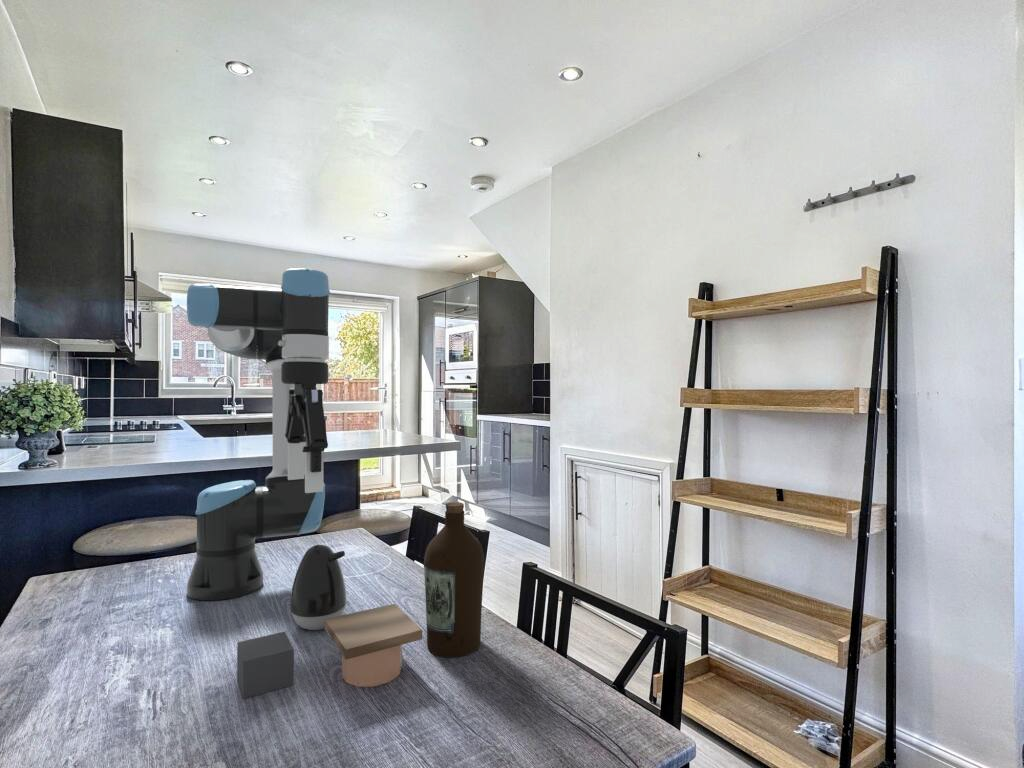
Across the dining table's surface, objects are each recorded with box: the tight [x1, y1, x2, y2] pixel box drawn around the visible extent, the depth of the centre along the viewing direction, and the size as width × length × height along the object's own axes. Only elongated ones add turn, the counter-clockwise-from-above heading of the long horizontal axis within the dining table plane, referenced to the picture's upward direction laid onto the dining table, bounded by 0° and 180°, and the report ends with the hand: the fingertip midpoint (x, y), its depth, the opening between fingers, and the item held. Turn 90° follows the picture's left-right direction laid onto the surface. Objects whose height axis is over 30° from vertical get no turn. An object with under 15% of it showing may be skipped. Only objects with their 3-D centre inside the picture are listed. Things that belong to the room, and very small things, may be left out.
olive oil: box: [423, 501, 485, 658], centre depth 97 cm, size 11×11×25 cm
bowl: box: [341, 645, 403, 688], centre depth 88 cm, size 9×9×6 cm
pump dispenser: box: [289, 544, 347, 631], centre depth 105 cm, size 10×10×15 cm
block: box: [236, 631, 295, 700], centre depth 85 cm, size 7×7×6 cm
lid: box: [324, 603, 423, 660], centre depth 88 cm, size 12×12×2 cm
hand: (304, 485), depth 94 cm, fingers open, 13 cm apart
